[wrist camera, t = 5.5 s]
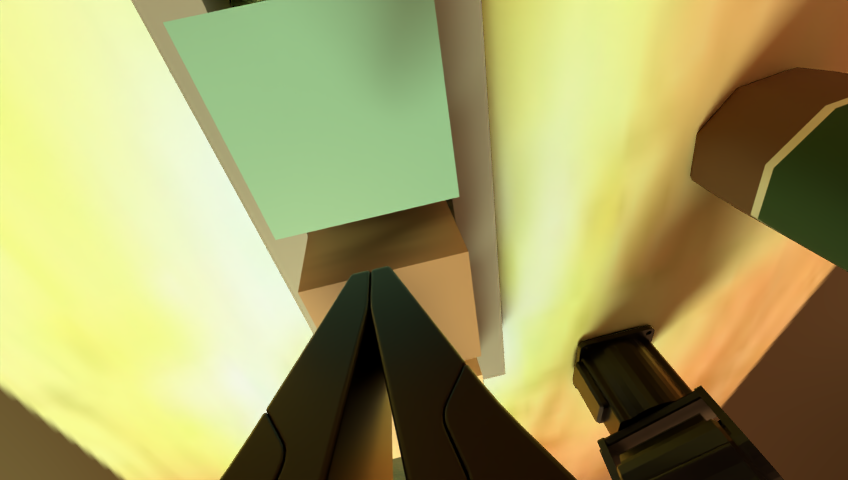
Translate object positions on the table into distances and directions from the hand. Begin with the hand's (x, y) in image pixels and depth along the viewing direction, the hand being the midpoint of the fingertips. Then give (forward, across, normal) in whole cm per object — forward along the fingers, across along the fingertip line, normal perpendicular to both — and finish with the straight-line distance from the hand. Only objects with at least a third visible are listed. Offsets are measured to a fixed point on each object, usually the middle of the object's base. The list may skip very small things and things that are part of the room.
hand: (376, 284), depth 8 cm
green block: (+9, 0, -2) cm, 9 cm away
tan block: (+9, 0, +6) cm, 10 cm away
